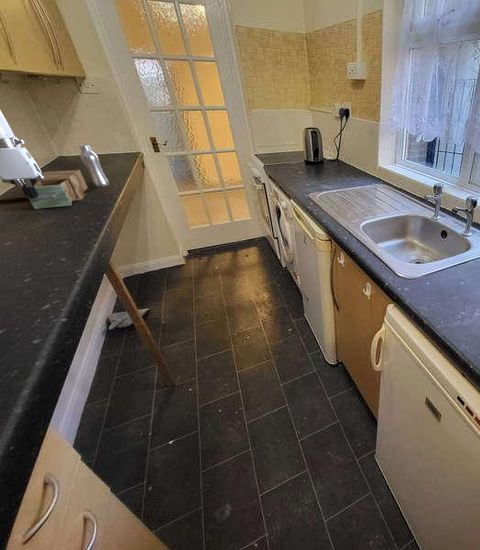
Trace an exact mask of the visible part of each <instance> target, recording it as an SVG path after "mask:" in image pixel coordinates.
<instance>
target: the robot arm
mask: <svg viewBox="0 0 480 550" xmlns="http://www.w3.org/2000/svg"><path fill="white" fill-rule="evenodd" d="M24 144H25V141H24V140H23V139H18V138H17V137H16V136H15V134H14V132H13V130H12V128H11V126H10V124H9V123H8V121H7V119H6V117H5V115H4V114H3V112H2V110H1V109H0V179H1V182H2V183H3V184H12V185H14V186H16V187H18V188H19V189H21V190H22V192H23V193H24V195H25V197H27V196H28V197H29V198H28V197H27V198H28V200H29V199H36V198H37V197H38V195H39V194H38V192H37V190H36V188H35V184H36V182H38V181H41V180H44V177H43V176H42V175H41V174H42V173H43V172H42V170H41V168H40V166H39V165H38V163H37V161H36V160H35V159H34V158H33V156H32V154H31V153H30V152H29V150H28V149H27V148H26V147H25V146H22V145H24ZM24 180H25V181H24Z"/></svg>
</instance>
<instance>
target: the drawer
mask: <svg viewBox="0 0 480 550" xmlns="http://www.w3.org/2000/svg"><path fill="white" fill-rule="evenodd" d="M35 188H36V190H37V192H38V194H39V195H38V197H37V198H36V199H29V197H28V196H26V197H27V198H28V200H29V202H30V203H31V205H32V207H33V208H34V210H38V209H47V208H48V209H49V208H57V207H58V208H59V207H69V206H72V205H73V203H72V202H73V201H75V200H74V199H75V198H76V197H77V194H76V192H75V190H74V188H73V186H72V184H71V182H70V180H69V179H57V180H44V181H38V182H36V184H35Z"/></svg>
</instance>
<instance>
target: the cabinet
mask: <svg viewBox="0 0 480 550" xmlns="http://www.w3.org/2000/svg"><path fill="white" fill-rule="evenodd" d="M41 175H42V176H43V177H44V180H57V179H69V180H70V182H71V184H72V186H73V188H74V190H75V192H76V194H77V197H76V198H75V199H74V200H73V201H81V200H83V199H84V198H85V197H86V196H87V195H88V194H89V192H86V190H87V189H88V188H89V186H88V184H87V183H86V180H85V178H84V176H83V174H82V172H81V170H80V169H73V170H72V169H71V170H56V171H43V172H42V174H41ZM44 180H41V181H44ZM86 194H87V195H86ZM85 195H86V196H85ZM84 196H85V197H84Z"/></svg>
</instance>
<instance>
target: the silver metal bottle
mask: <svg viewBox="0 0 480 550" xmlns="http://www.w3.org/2000/svg"><path fill="white" fill-rule="evenodd" d="M78 147H79V150H80V152H81V153H80V160H81V161H82V163H83V164H84V166H85V167H86V169H87V171H88V174H89V176H90V180H91V183H92V185H93V186H94V187H96V188H98V187H99V188H103V187H108V186H110V180H108V178H107V176H106V174H105V173H104V171H103V169H102V166H101V163H100V159H99V157H98V155H97V154H96V153H95V152H94V151H93V150H91V147H90V145H89V144H79V145H78Z"/></svg>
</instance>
